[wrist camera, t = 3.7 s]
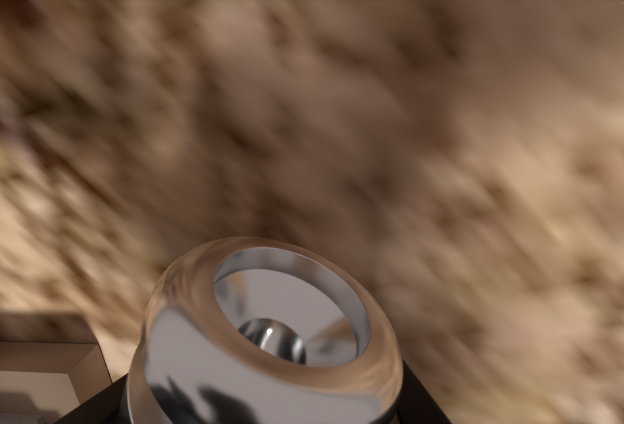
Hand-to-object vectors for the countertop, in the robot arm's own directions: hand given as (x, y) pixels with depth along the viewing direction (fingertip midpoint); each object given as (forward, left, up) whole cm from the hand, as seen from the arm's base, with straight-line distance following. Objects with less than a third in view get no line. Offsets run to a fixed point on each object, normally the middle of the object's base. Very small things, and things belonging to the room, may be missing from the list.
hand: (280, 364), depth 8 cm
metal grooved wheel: (0, -1, -2) cm, 2 cm away
